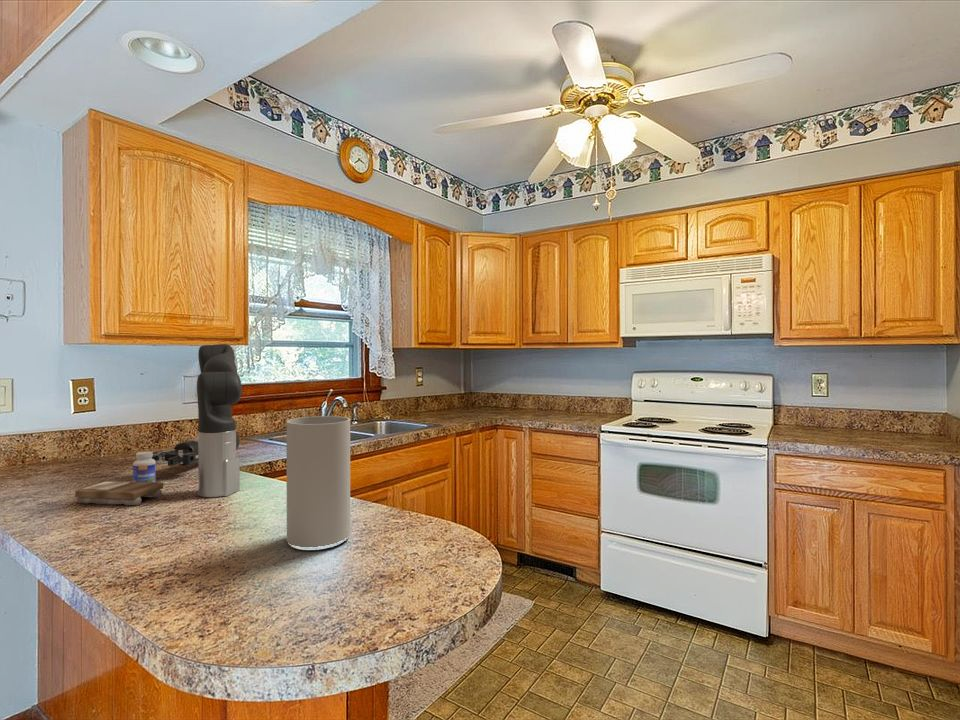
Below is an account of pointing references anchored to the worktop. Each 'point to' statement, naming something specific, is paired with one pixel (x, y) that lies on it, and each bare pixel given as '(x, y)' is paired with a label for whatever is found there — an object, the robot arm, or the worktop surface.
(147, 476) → the pill bottle
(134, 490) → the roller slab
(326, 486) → the cylinder vase
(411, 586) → the worktop surface
